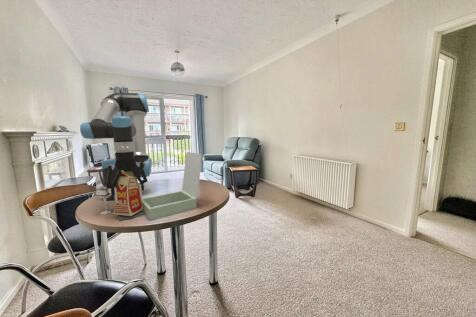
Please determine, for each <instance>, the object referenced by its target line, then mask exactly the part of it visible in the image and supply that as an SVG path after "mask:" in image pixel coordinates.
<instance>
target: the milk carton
mask: <svg viewBox="0 0 476 317" xmlns="http://www.w3.org/2000/svg"><path fill="white" fill-rule="evenodd" d="M121 172H122V173H121V175H120V177H119V179H118V181H117V188H116V190H117V203H116V201H115V200H114V208H113V210H114V213H113V214H114V215H116V216H117V215H126V216H132V215H134V214H136V213H137V212H139V211H141V210H142V209H143V204H142V199H143V197H142V198H140V189H139V185H138V184H139V181H138V179H137V178H136V176H135V175H134V174H133V173H132V171H131V172H124V171H123V170H121Z"/></svg>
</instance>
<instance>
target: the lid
mask: <svg viewBox="0 0 476 317" xmlns="http://www.w3.org/2000/svg"><path fill="white" fill-rule="evenodd" d="M185 152H186V153H185V162H184V169H183V178H182V179H183V180H182V187H181V191H184V192H185V193H187V194H189V195H191V196H193V197H194V198H196V199H198V194H199V186H200V176H201V168H202V159H203V158H205V156H204V154H203V153H202V154H201V153H195V152H192V151H191V152H189V151H185Z"/></svg>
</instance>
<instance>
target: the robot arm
mask: <svg viewBox="0 0 476 317" xmlns="http://www.w3.org/2000/svg"><path fill="white" fill-rule="evenodd" d="M120 112H121V113H126V115H127V116H119V115H118V116H117V115H116V114H118V113H120ZM149 112H150V110H149V103H148V100H147V96H146V95H145V94H144V93H138V92H137V93H133V92H115V93H111V94H109V95H107V96H106V97H104V98H103V99H102V101H101V102H100V107H99V109H98V111H97V112H96V113H95V115H94V116H93V118H92V120H91V121H89V122H88V121H87V122H82V123H81V124H80V126H79V131H80V134H81V136H82V138H83V139H86V140H87V139H91V140H95V139H101V140H102V139H113V146H114V148H113V149H114V152H115V153H114V158H110V159H106V160H103V161H102V162H101V174H102V181H103V182H102V183H103V187H106V188H110V189H111V194H112V195H111V196H110V197H109V198H107V199H106V201H114V202H115V201H116V203H117V190H116V188H117V181H118V179H119V177H120V175H121V173H122V172H121V170H123V171H124V172H131V171H132V173H133V174H134V175H135V176H136V178H137V181H138V185H139V189H140V198H142V199H143V191H145V190H144V187H145V186H144V184H145V183H147V182H148V178H147V177H150V175H151V173H152V158H151V157H150V156H149V155H148V153H147V145H146V129H145V127H146V126H145V117H146V116H147V113H149ZM115 115H116V116H115ZM101 200H102V201H104V200H103V199H101Z"/></svg>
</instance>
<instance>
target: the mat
mask: <svg viewBox="0 0 476 317" xmlns="http://www.w3.org/2000/svg"><path fill="white" fill-rule="evenodd" d="M143 216H145V213H144V212H143V211H142V210H141V211H139V212H137V213H136V214H134V215H132V216H126V215H117V214H116V217H117V218H118V220H119V222H122V221H126V220H130V219H133V218H137V217H143Z"/></svg>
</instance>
